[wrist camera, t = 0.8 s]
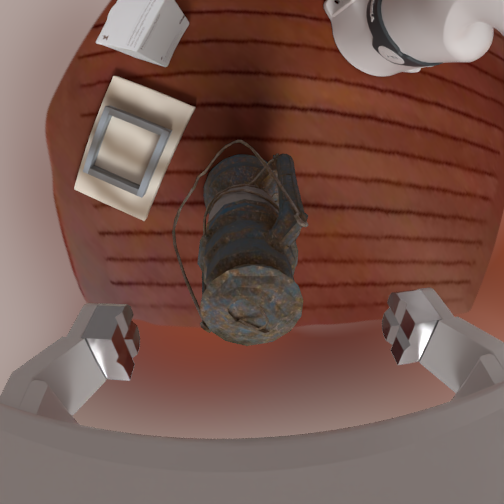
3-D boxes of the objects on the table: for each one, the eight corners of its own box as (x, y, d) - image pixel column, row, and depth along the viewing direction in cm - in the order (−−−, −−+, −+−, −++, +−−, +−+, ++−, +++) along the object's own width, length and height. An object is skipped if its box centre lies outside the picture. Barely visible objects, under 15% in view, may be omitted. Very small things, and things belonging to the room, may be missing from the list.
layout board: (117, 76, 38) (108, 75, 35) (195, 107, 42) (192, 108, 39) (77, 186, 46) (68, 193, 43) (146, 217, 50) (141, 226, 47)
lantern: (239, 256, 55) (244, 404, 28) (170, 212, 50) (110, 344, 24) (312, 170, 48) (399, 271, 21) (239, 115, 43) (245, 146, 17)
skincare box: (167, 67, 39) (137, 57, 26) (133, 57, 37) (92, 45, 24) (191, 20, 35) (172, -9, 22) (156, 10, 34) (124, -19, 21)
